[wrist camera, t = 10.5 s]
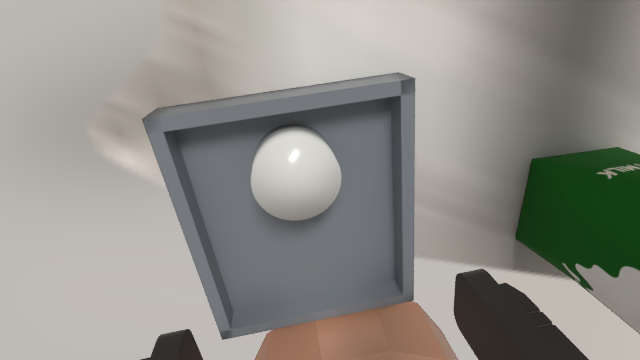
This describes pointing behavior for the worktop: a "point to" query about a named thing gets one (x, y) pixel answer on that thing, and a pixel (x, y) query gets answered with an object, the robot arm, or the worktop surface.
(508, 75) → the worktop surface
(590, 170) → the milk carton
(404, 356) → the bowl
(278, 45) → the worktop surface
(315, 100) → the tray
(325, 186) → the white pebble
